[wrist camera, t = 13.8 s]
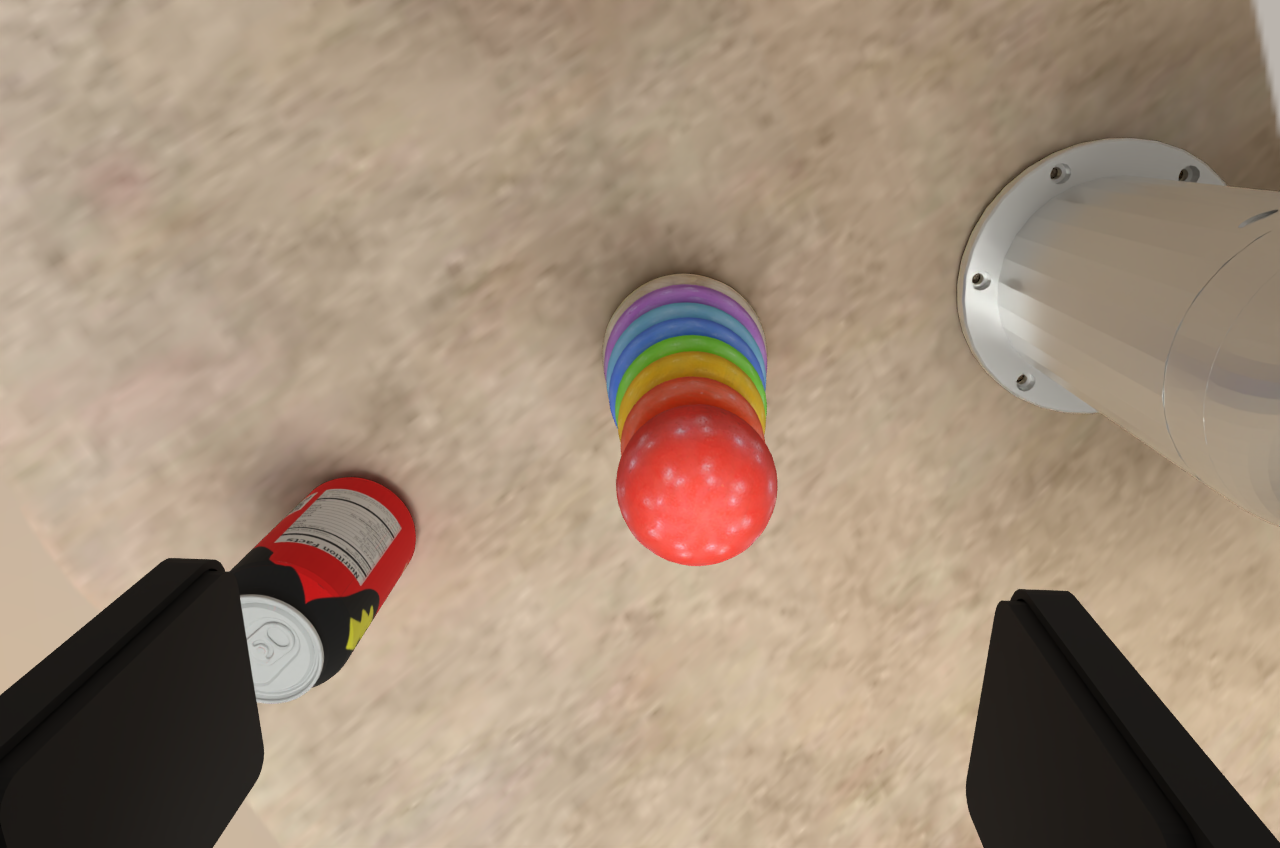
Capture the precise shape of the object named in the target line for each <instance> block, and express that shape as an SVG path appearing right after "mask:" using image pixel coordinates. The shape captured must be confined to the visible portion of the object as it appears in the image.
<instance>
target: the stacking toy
mask: <svg viewBox="0 0 1280 848" xmlns="http://www.w3.org/2000/svg"><path fill="white" fill-rule="evenodd" d="M602 358H603V367H604V374H605V379H606V383H607V392H608V397H609V403H610V409H611V413H612V416H613V419H614V422H615V424H616V426H617V428H618V433H619V438H620V442H621V455H622V456H621V459H620V462H619V467H618V471H617V480H616V491H617V499H618V504H619V507H620V510H621V513H622V516H623V518H624V520H625V522H626V524H627V525H628V527H629V529H630V531H631V532H632V534H633V535H634V536H635V538H636V539H637V540H638V541H639V542H640V543H641V544H643V545H644V546H645V547H646V548H648V549H649V550H650V551H652V552H653V553H654V554H656V555H658V556H660V557H662V558H664V559H666V560H668V561H671V562H675V563H678V564H682V565H688V566H704V565H712V564H717V563H720V562H723V561H726V560H728V559H730V558H732V557H735V556H737V555H739V554H740V553H742V552H743V551H745V550H746V549H747V548H748V547H750V546H751V545H752V544H753V543H754V541H755V540H756V539H757V538H758V537H759V536H760V535H761V533H762V532H763V531H764V529H765V528H766V526H767V524H768V522H769V520H770V517H771V515H772V513H773V510H774V506H775V503H776V497H777V473H776V468H775V465H774V461H773V458H772V455H771V453H770V451H769V449H768V447H767V445H766V444H765V439H764V434H765V427H766V414H767V402H766V395H765V389H766V373H767V346H766V340H765V335H764V331H763V328H762V325H761V323H760V321H759V319H758V316H757V315H756V313H755V311H754V310H753V308H752V307H751V306H750V304H749V303H748V302H747V301H746V300H745V299H744V298H743V297H742V296H741V295H740V294H739V293H738V292H736V291H735V290H734V289H732V288H731V287H729V286H728V285H726V284H724V283H722V282H720V281H717V280H715V279H712V278H709V277H705V276H701V275H694V274H674V275H667V276H663V277H659V278H657V279H654V280H652V281H649V282H647V283H645V284H643V285H642V286H640V287H639V288H637V289H636V290H634V291H633V292H632V293H631V294H630V295H629V296H628V297H626V298H625V300H624V301H623V302H622V303H621V304H620V305H619V307H618V308H617V309H616V311H615V312H614V314H613V316H612V318H611V320H610V322H609V324H608V326H607V329H606V333H605V336H604V341H603V350H602Z"/></svg>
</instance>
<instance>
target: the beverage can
mask: <svg viewBox="0 0 1280 848" xmlns="http://www.w3.org/2000/svg"><path fill="white" fill-rule="evenodd" d="M415 541H416V533H415V526H414V522H413V519H412V517H411V515H410V513H409V511H408V509H407V507H406V506H405V505H404V503H403V502H402V501H401V500H400V499H399V498H398V497H397V496H396V495H395V494H394V493H393V492H392V491H390V490H389V489H387V488H386V487H384V486H382V485H380V484H378V483H376V482H374V481H371V480H367V479H363V478H356V477H345V478H338V479H334V480H331V481H328V482H326V483H323V484H321V485H320V486H318V487H317V488H315V489H314V490H313V491H312V492H311V493H310V494H309V495H308V496H307V497H306V498H305V499H303V500H302V501H301V502H300V503H299V504H298V505H297V506H296V507H295V508H294V509H293V510H292V511H291V512H290V513H289V514H288V515H287V516H286V517H285V518H284V519H283V520H282V521H281V522H280V523H279V524H278V525H277V526H276V527H275V528H274V529H273V530H272V531H271V532H270V533H269V534H268V535H267V536H266V537H264V538H263V539H262V540H261V541H260V542H259V543H258V544H257V545H256V546H255V547H254V548H253V549H252V550H251V551H250V552H249V553H248V554H247V555H246V556H245V557H244V558H243V559H242V560H241V561H240V562H239V563H238V564H237V565H236V566H235V567H234V568H233V569H232V570H231V571H230V572H231V573H233V574H234V576H235V577H236V579H237V583H238V588H239V594H240V600H241V607H242V613H243V619H244V626H245V632H246V638H247V645H248V651H249V657H250V664H251V670H252V676H253V683H254V689H255V695H256V702H259V703H268V704H276V703H284V702H288V701H291V700H294V699H297V698H299V697H300V696H302V695H304V694H305V693H306V692H308V691H309V690H310V689H311V688H313V687H315V686H318V685H320V684H322V683H324V682H325V681H327V680H328V679H330V678H331V677H333V676H334V675H335V674H336V673H337V672H338V671H339V670H340V669H341V668H342V667H343V666H344V664H345V663H346V661H347V660H348V658H349V657H350V655H351V654H352V652H353V650H354V649H355V647H356V646H357V644H358V642H359V641H360V639H361V638H362V636H363V635H364V633H365V631H366V630H367V628H368V627H369V625H370V624H371V622H372V620H373V619H374V617H375V616H376V614H377V613H378V611H379V609H380V608H381V606H382V605H383V603H384V601H385V600H386V598H387V597H388V595H389V594H390V592H391V590H392V589H393V587H394V586H395V584H396V583H397V581H398V579H399V578H400V576H401V575H402V573H403V571H404V570H405V568H406V567H407V565H408V564H409V562H410V560H411V558H412V556H413V553H414V549H415Z"/></svg>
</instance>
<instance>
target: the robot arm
mask: <svg viewBox="0 0 1280 848" xmlns="http://www.w3.org/2000/svg"><path fill="white" fill-rule="evenodd" d="M1054 167H1056V169H1057V171H1058V173H1057V176H1056V177H1055V178H1053V179H1051V177H1050V173H1051V171H1052V168H1054ZM1181 170H1182V171H1183V176H1182V178H1181V179H1180V180H1179V174H1180V172H1181ZM977 273H979V274H980V280H979V281H978V282H977V283H973V282H972V278H973V276H974V275H975V274H977ZM957 309H958V313H959V318H960V323H961V327H962V332H963V334H964V337H965V339H966V341H967V343H968V345H969V348H970V350H971V352H972V354H973V355H974V357H975V358H976V359H977V361H978V362H979V363H980V365H981V366H982V367H983V369H984V370H985V372H986V373H987V374H989V375H990V376H991V377H992V378H993V379H994V380H995V381H996V382H997V383H998V384H1000V385H1001V386H1002V387H1004V388H1005V389H1006V390H1008V391H1009V392H1010V393H1012V394H1013V395H1014V396H1016V397H1018V398H1019V399H1022V400H1024V401H1026V402H1029V403H1031V404H1033V405H1036V406H1038V407H1040V408H1044V409H1049V410H1053V411H1058V412H1063V413H1080V414H1093V413H1101V414H1103V415H1104V416H1105V417H1107V418H1108V419H1110V420H1111V421H1113V422H1114V423H1116V424H1117V425H1119V426H1120V427H1121V428H1123V429H1124V430H1126V431H1127V432H1129V433H1130V434H1132V435H1133V436H1134V437H1136V438H1137V439H1139V440H1140V441H1142V442H1143V443H1145V444H1146V445H1148V446H1149V447H1150V448H1152V449H1153V450H1155V451H1156V452H1158V453H1159V454H1161V455H1162V456H1163V457H1165V458H1166V459H1168V460H1169V461H1171V462H1172V463H1174V464H1175V465H1177V466H1178V467H1179V468H1181V469H1182V470H1184V471H1185V472H1187V473H1188V474H1190V475H1191V476H1193V477H1194V478H1196V479H1197V480H1199V481H1200V482H1202V483H1203V484H1205V485H1206V486H1208V487H1209V488H1211V489H1212V490H1214V491H1216V492H1217V493H1219V494H1220V495H1222V496H1223V497H1225V498H1226V499H1228V500H1229V501H1231V502H1232V503H1234V504H1235V505H1237V506H1238V507H1240V508H1241V509H1243V510H1245V511H1247V512H1248V513H1250V514H1252V515H1254V516H1256V517H1258V518H1260V519H1262V520H1264V521H1266V522H1268V523H1271V524H1274V525H1277V526H1279V527H1280V192H1279V191H1270V190H1260V189H1251V188H1241V187H1232V186H1227V185H1226V183H1225V182H1224V181H1223V180H1222V179H1221V178H1220V177H1219V176H1218V175H1217V174H1216V173H1215V172H1214V171H1213V170H1212V169H1211V168H1210V167H1209V166H1208V165H1207V164H1206V163H1205V162H1203V161H1201V160H1200V159H1198V158H1197V157H1195V156H1193V155H1192V154H1190V153H1188V152H1187V151H1185V150H1183V149H1180V148H1177V147H1174V146H1171V145H1168V144H1165V143H1162V142H1159V141H1153V140H1144V139H1136V138H1106V139H1101V140H1095V141H1089V142H1084V143H1079V144H1076V145H1074V146H1071V147H1068V148H1066V149H1063V150H1060V151H1057V152H1055V153H1052V154H1050V155H1049V156H1047V157H1045V158H1044V159H1042V160H1040V161H1038V162H1037V163H1035V164H1033V165H1032V166H1030V167H1028V168H1027V169H1025V170H1024V171H1023V172H1022V173H1021V174H1019V175H1018V176H1017V177H1016V178H1015V179H1013V180H1012V181H1011V182H1010V183H1009V184H1007V185H1006V186H1005V187H1004V188H1003V189H1002V191H1001V192H1000V193H999V194H998V195H997V196H996V198H995V199H994V200H993V201H992V202H991V203H990V205H989V206H988V207H987V208H986V209H985V211H984V213H983V214H982V216H981V218H980V219H979V221H978V223H977V224H976V226H975V228H974V230H973V231H972V233H971V236H970V238H969V241H968V243H967V246H966V249H965V251H964V254H963V257H962V260H961V266H960V271H959V277H958V282H957ZM1022 374H1024V378H1023V380H1021V381H1020V382H1016V381H1017V379H1018V377H1020V376H1021V375H1022ZM263 759H264V746H263V739H262V733H261V727H260V721H259V714H258V708H257V702H256V695H255V689H254V683H253V676H252V670H251V664H250V657H249V651H248V645H247V638H246V632H245V626H244V619H243V613H242V607H241V600H240V594H239V588H238V583H237V579H236V577H235V576H234V574H233V573H231V572H225V569H224V567H223V566H222V564H221V563H220V562H218V561H217V560H209V559H182V558H168V559H166V560H164V561H162V562H161V563H160V564H159V565H157V566H156V567H155V568H154V569H152V570H151V571H150V572H149V573H148V574H146V575H145V576H144V577H143V578H142V579H140V580H139V581H138V582H137V583H136V584H134V585H133V586H132V587H131V588H130V589H128V590H127V591H126V592H125V593H123V594H122V595H121V596H120V597H119V598H117V599H116V600H115V601H114V602H113V603H111V604H110V605H109V606H108V607H107V608H105V609H104V610H103V611H102V612H100V613H99V614H98V615H97V616H96V617H94V618H93V619H92V620H91V621H90V622H88V623H87V624H86V625H85V626H84V627H82V628H81V629H80V630H79V631H77V632H76V633H75V634H74V635H73V636H71V637H70V638H69V639H68V640H67V641H65V642H64V643H63V644H62V645H61V646H60V647H58V648H57V649H56V650H54V651H53V652H52V653H51V654H50V655H48V656H47V657H46V658H45V659H44V660H42V661H41V662H40V663H39V664H38V665H36V666H35V667H34V668H33V669H31V670H30V671H29V672H28V673H27V674H25V675H24V676H23V677H22V678H21V679H19V680H18V681H17V682H16V683H15V684H13V685H12V686H11V687H10V688H8V689H7V690H6V691H5V692H4V693H2V694H1V695H0V848H213V846H214V845H215V843H216V842H217V840H218V839H219V837H220V836H221V834H222V833H223V831H224V830H225V828H226V827H227V825H228V823H229V822H230V820H231V819H232V818H233V816H234V815H235V813H236V811H237V810H238V808H239V807H240V805H241V804H242V802H243V801H244V799H245V798H246V796H247V795H248V793H249V792H250V790H251V789H252V787H253V786H254V784H255V783H256V781H257V779H258V777H259V775H260V772H261V769H262V765H263ZM966 797H967V804H968V809H969V812H970V815H971V818H972V821H973V823H974V825H975V828H976V830H977V833H978V835H979V837H980V840H981V842H982V845H983V847H984V848H1280V842H1279V841H1278V840H1277V839H1276V838H1275V836H1274V835H1273V834H1272V833H1271V832H1270V830H1269V829H1268V828H1267V827H1266V826H1265V824H1264V823H1263V822H1262V821H1261V820H1260V818H1259V817H1258V816H1257V815H1256V814H1255V812H1254V811H1253V810H1252V809H1251V808H1250V806H1249V805H1248V804H1247V803H1246V802H1245V800H1244V799H1243V798H1242V797H1241V796H1240V794H1239V793H1238V792H1237V791H1236V790H1235V788H1234V787H1233V786H1232V785H1231V784H1230V782H1229V781H1228V780H1227V779H1226V778H1225V776H1224V775H1223V774H1222V773H1221V772H1220V770H1219V769H1218V768H1217V767H1216V766H1215V764H1214V763H1213V762H1212V761H1211V760H1210V758H1209V757H1208V756H1207V755H1206V754H1205V752H1204V751H1203V750H1202V749H1201V748H1200V746H1199V745H1198V744H1197V743H1196V742H1195V740H1194V739H1193V738H1192V737H1191V736H1190V734H1189V733H1188V732H1187V731H1186V730H1185V728H1184V727H1183V726H1182V725H1181V724H1180V722H1179V721H1178V720H1177V719H1176V718H1175V716H1174V715H1173V714H1172V713H1171V712H1170V710H1169V709H1168V708H1167V707H1166V706H1165V704H1164V703H1163V702H1162V701H1161V700H1160V698H1159V697H1158V696H1157V695H1156V694H1155V692H1154V691H1153V690H1152V689H1151V688H1150V686H1149V685H1148V684H1147V683H1146V682H1145V680H1144V679H1143V678H1142V677H1141V676H1140V674H1139V673H1138V672H1137V671H1136V670H1135V668H1134V667H1133V666H1132V665H1131V664H1130V662H1129V661H1128V660H1127V659H1126V658H1125V656H1124V655H1123V654H1122V653H1121V652H1120V650H1119V649H1118V648H1117V647H1116V646H1115V644H1114V643H1113V642H1112V641H1111V640H1110V638H1109V637H1108V636H1107V635H1106V634H1105V632H1104V631H1103V630H1102V629H1101V628H1100V626H1099V625H1098V624H1097V623H1096V622H1095V620H1094V619H1093V618H1092V617H1091V616H1090V614H1089V613H1088V612H1087V611H1086V610H1085V608H1084V607H1083V606H1082V605H1081V604H1080V602H1079V601H1078V600H1077V599H1076V598H1075V596H1074V595H1072V594H1071V593H1070V592H1069V591H1053V590H1026V589H1018V590H1017V591H1015V592H1014V594H1013V596H1012V598H1011V601H1001V602H999V603H998V605H997V607H996V611H995V616H994V622H993V628H992V633H991V639H990V645H989V651H988V657H987V663H986V669H985V675H984V680H983V686H982V692H981V698H980V704H979V710H978V716H977V721H976V727H975V733H974V739H973V745H972V751H971V757H970V763H969V768H968V774H967V781H966Z"/></svg>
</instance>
